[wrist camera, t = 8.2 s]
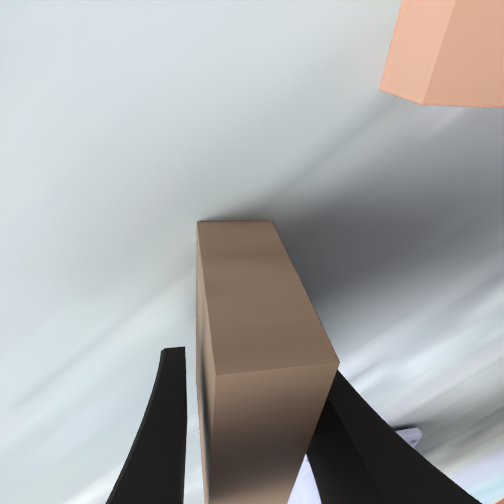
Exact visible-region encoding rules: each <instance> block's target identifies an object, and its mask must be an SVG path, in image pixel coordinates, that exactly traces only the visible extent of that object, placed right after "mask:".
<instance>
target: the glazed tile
mask: <svg viewBox="0 0 504 504" xmlns="http://www.w3.org/2000/svg"><path fill="white" fill-rule="evenodd" d="M379 90H382V91H384V92H387V93H390V94H393V95H396V96H398V97H401V98H404V99H407V100H409V101H412V102H415V103H418V104H421V105H438V106H468V107H498V108H504V0H402V2H401V6H400V10H399V14H398V18H397V21H396V25H395V29H394V33H393V37H392V41H391V45H390V49H389V53H388V57H387V61H386V65H385V69H384V73H383V77H382V81H381V84H380V88H379Z"/></svg>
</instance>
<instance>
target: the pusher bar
mask: <svg viewBox="0 0 504 504" xmlns="http://www.w3.org/2000/svg"><path fill="white" fill-rule="evenodd" d="M339 363H340V361H339V359H338V357H337V355H336V353H335V351H334V348H333V346H332V344H331V342H330V340H329V338H328V336H327V334H326V332H325V330H324V328H323V326H322V324H321V322H320V319H319V317H318V315H317V313H316V311H315V309H314V307H313V305H312V303H311V301H310V299H309V297H308V295H307V293H306V290H305V288H304V286H303V284H302V282H301V280H300V278H299V276H298V274H297V272H296V270H295V268H294V266H293V263H292V261H291V259H290V257H289V255H288V253H287V251H286V249H285V247H284V245H283V243H282V241H281V239H280V237H279V234H278V232H277V230H276V228H275V226H274V224H273V222H272V221H206V222H197V284H196V385H197V400H198V414H199V429H200V443H201V458H202V473H203V487H204V502H205V504H287V503H288V500H289V498H290V495H291V492H292V490H293V487H294V484H295V482H296V479H297V476H298V473H299V471H300V468H301V465H302V463H303V460H304V457H305V455H306V452H307V449H308V447H309V444H310V441H311V439H312V436H313V433H314V430H315V428H316V425H317V422H318V420H319V417H320V414H321V412H322V409H323V406H324V404H325V401H326V398H327V396H328V393H329V390H330V387H331V385H332V382H333V379H334V377H335V374H336V371H337V369H338V366H339Z"/></svg>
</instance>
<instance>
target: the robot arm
mask: <svg viewBox="0 0 504 504" xmlns="http://www.w3.org/2000/svg"><path fill="white" fill-rule="evenodd" d="M186 435H187V390H186V358H185V347H175V348H165V349H163V350H162V351H161V356H160V362H159V367H158V372H157V376H156V380H155V383H154V386H153V390H152V393H151V396H150V399H149V402H148V405H147V408H146V411H145V414H144V417H143V420H142V422H141V425H140V427H139V430H138V432H137V435H136V437H135V440H134V442H133V445H132V447H131V450H130V452H129V454H128V457H127V459H126V461H125V464H124V466H123V468H122V470H121V473H120V475H119V477H118V479H117V481H116V483H115V485H114V487H113V490H112V492H111V494H110V496H109V498H108V500H107V502H106V504H183V499H184V478H185V456H186ZM422 435H423V434H422V432H421V430H420V429H419V428H411V429H404V430H398V431H394V430H393V429H392V428H391V427H390V426H389V425H388V424H387V423H386V422H385V421H384V420H383V419H382V418H381V417H380V416H379V415H378V414H377V413H376V412H375V411H374V410H373V409H372V408H371V407H370V406H369V404H368V403H367V402H366V401H365V400H364V399H363V398H362V397H361V396H360V395H359V394H358V392H357V391H356V390H355V389H354V388H353V387H352V386H351V385H350V383H349V382H348V381H347V380H346V379H345V378H344V377H343V375H342V374H341V373H340V372H339V371H338V369H337V371H336V374H335V377H334V379H333V382H332V385H331V387H330V390H329V393H328V396H327V398H326V401H325V404H324V406H323V409H322V412H321V414H320V417H319V420H318V422H317V425H316V428H315V430H314V433H313V436H312V439H311V441H310V444H309V447H308V449H307V452H306V455H305V457H304V460H303V463H302V465H301V468H300V471H299V473H298V476H297V479H296V482H295V484H294V487H293V490H292V492H291V495H290V498H289V500H288V503H287V504H482V503H480V502H479V501H478V500H476V499H475V498H474V497H472V496H471V495H470V494H468V493H467V492H466V491H465V490H463V489H462V488H461V487H460V486H458V485H457V484H456V483H455V482H453V481H452V480H451V479H450V478H448V477H447V476H446V475H445V474H443V473H442V472H441V471H440V470H438V469H437V468H436V467H435V466H433V465H432V464H431V463H430V462H429V461H427V460H426V459H425V458H424V457H423V456H422V455H421V454H419V453H418V452H417V451H416V450H415V449H414V447H415V446H416V444H417V443H418V442H419V440H420V439H421V437H422Z"/></svg>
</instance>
